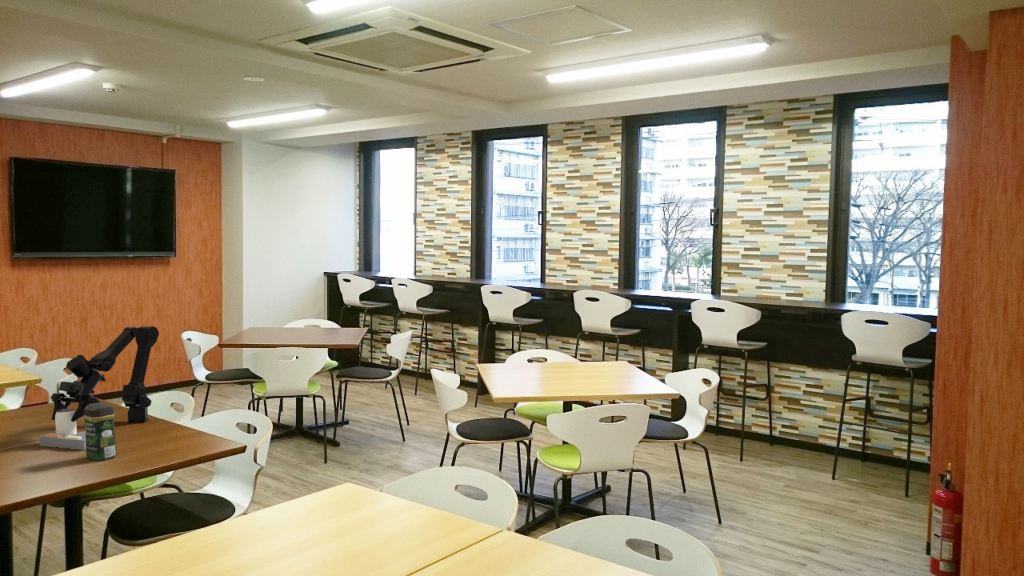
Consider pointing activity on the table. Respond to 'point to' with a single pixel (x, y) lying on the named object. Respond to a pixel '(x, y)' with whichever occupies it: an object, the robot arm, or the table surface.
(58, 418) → the can
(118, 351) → the robot arm
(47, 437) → the dock
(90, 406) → the coffee jar
